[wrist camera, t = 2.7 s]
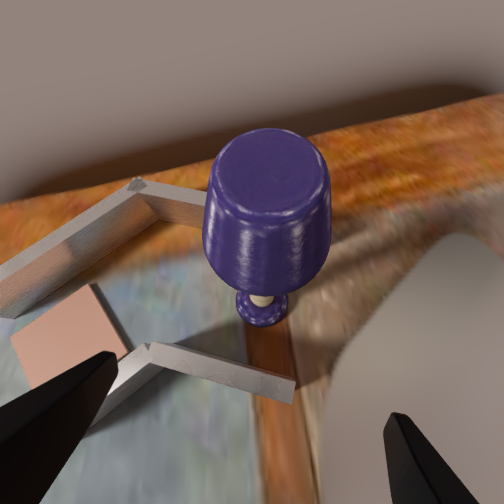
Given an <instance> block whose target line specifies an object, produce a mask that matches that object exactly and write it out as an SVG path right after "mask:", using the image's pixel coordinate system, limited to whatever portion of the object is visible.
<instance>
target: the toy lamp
mask: <svg viewBox="0 0 504 504" xmlns="http://www.w3.org/2000/svg"><path fill="white" fill-rule="evenodd" d="M331 219H332V208H331V183H330V175H329V171H328V168H327V165H326V162H325V160H324V158H323V156H322V154H321V153H320V151H319V150H318V149H317V148H316V147H315V146H314V145H313V144H312V143H311V142H309V141H308V140H307V139H306V138H304V137H302V136H300V135H299V134H296V133H293V132H291V131H288V130H283V129H278V128H262V129H256V130H252V131H249V132H246V133H244V134H241V135H239V136H237V137H235V138H234V139H233V140H232V141H230V142H229V143H228V144H227V145H226V146H224V148H223V149H222V150H221V151H220V153H219V154H218V155H217V157H216V159H215V161H214V163H213V165H212V169H211V172H210V177H209V182H208V188H207V196H206V202H205V211H204V218H203V228H202V240H203V247H204V251H205V255H206V257H207V259H208V261H209V263H210V265H211V267H212V268H213V270H214V271H215V273H216V274H217V275H218V276H219V277H220V278H221V279H222V280H223V281H224V282H226V283H227V284H228V285H229V286H231V287H233V288H234V289H236V290H238V291H237V294H236V307H237V311H238V313H239V315H240V316H241V317H242V319H243V320H244V321H246V322H247V323H249V324H250V325H252V326H256V327H269V326H272V325H274V324H276V323H277V322H279V321H280V320H281V319H282V318H283V316H284V315H285V313H286V311H287V307H288V295H287V293H290V292H293V291H295V290H297V289H299V288H301V287H302V286H304V285H305V284H307V283H308V282H309V281H310V280H312V279H313V278H314V277H315V276H316V274H317V273H318V272H319V271H320V269H321V267H322V266H323V264H324V262H325V260H326V258H327V255H328V252H329V248H330V243H331V229H332V227H331Z"/></svg>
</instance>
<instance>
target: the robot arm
mask: <svg viewBox="0 0 504 504" xmlns="http://www.w3.org/2000/svg"><path fill="white" fill-rule="evenodd" d="M118 372H119V368H118V362H117V356H116V354H115V353H114V352H110V351H101V352H99V353H97V354H96V355H94V356H92V357H90V358H88V359H86V360H85V361H83V362H81V363H79V364H77V365H76V366H74V367H72V368H70V369H68V370H67V371H65V372H63V373H61V374H59V375H57V376H56V377H54V378H52V379H50V380H48V381H47V382H45V383H43V384H41V385H39V386H38V387H36V388H34V389H32V390H30V391H28V392H27V393H25V394H23V395H21V396H19V397H18V398H16V399H14V400H12V401H10V402H9V403H7V404H5V405H3V406H1V407H0V504H39V503H40V502H41V500H42V499H43V497H44V496H45V494H46V492H47V491H48V489H49V488H50V486H51V485H52V483H53V482H54V480H55V479H56V477H57V476H58V474H59V473H60V471H61V470H62V468H63V467H64V465H65V464H66V462H67V461H68V459H69V457H70V456H71V454H72V453H73V451H74V450H75V448H76V447H77V445H78V444H79V442H80V441H81V439H82V438H83V436H84V435H85V433H86V432H87V430H88V428H89V427H90V425H91V424H92V422H93V420H94V419H95V417H96V415H97V413H98V411H99V409H100V408H101V406H102V404H103V402H104V400H105V398H106V396H107V395H108V393H109V391H110V389H111V387H112V385H113V383H114V381H115V380H116V378H117V375H118ZM383 437H384V445H385V453H386V461H387V468H388V476H389V484H390V491H391V497H392V502H393V504H479V503H478V502H477V500H476V499H475V498H474V497H473V495H472V494H471V493H470V492H469V490H468V489H467V488H466V487H465V486H464V484H463V483H462V482H461V480H460V479H459V478H458V477H457V476H456V474H455V473H454V472H453V471H452V469H451V468H450V467H449V466H448V465H447V463H446V462H445V461H444V460H443V458H442V457H441V456H440V455H439V453H438V452H437V451H436V450H435V448H434V447H433V446H432V445H431V443H430V442H429V441H428V440H427V438H426V437H425V436H424V435H423V434H422V432H421V431H420V430H419V429H418V427H417V426H416V425H415V424H414V422H413V421H412V420H411V419H410V418H409V417H408V416H407V415H405V414H401V413H396V412H393V413H391V415H390V417H389V419H388V421H387V423H386V425H385V428H384V431H383Z"/></svg>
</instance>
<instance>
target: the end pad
mask: <svg viewBox="0 0 504 504" xmlns="http://www.w3.org/2000/svg"><path fill="white" fill-rule="evenodd" d="M10 339H11V342H12V344H13V346H14V349H15V351H16V353H17V356H18V358H19V360H20V363H21V365H22V367H23V370H24V372H25V375H26V377H27V379H28V382H29V384H30V386H31V389H34V388H36V387H38V386H39V385H41V384H43V383H45V382H47V381H48V380H50V379H52V378H54V377H56V376H57V375H59V374H61V373H63V372H65V371H67V370H68V369H70V368H72V367H74V366H76V365H77V364H79V363H81V362H83V361H85V360H86V359H88V358H90V357H92V356H94V355H96V354H97V353H99V352H101V351H110V352H114V353H115V354H116V356H117V362H118V361H119V360H120V359H122V358H123V357H124V356H125V355H127V354H128V353H129V350H128V348H127V347H126V345H125V343H124V341H123V340H122V338H121V336H120V334H119V333H118V331H117V329H116V328H115V326H114V324H113V322H112V321H111V319H110V317H109V316H108V314H107V312H106V310H105V309H104V307H103V305H102V304H101V302H100V300H99V298H98V297H97V295H96V293H95V291H94V290H93V288H92V286H91V285H90V284H88V283H87V284H86V285H85V286H83V287H82V288H80V289H79V290H77V291H76V292H74V293H73V294H72V295H70V296H69V297H67V298H66V299H64V300H63V301H62V302H60V303H59V304H57V305H56V306H54V307H53V308H51V309H50V310H49V311H47V312H46V313H44V314H43V315H41V316H40V317H39V318H37V319H36V320H34V321H33V322H31V323H30V324H29V325H27V326H26V327H24V328H23V329H21V330H20V331H18V332H17V333H16V334H14V335H13V336H11V337H10Z"/></svg>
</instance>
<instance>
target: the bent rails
mask: <svg viewBox="0 0 504 504" xmlns="http://www.w3.org/2000/svg"><path fill="white" fill-rule="evenodd" d="M206 196H207V192H204V191H199V190H194V189H188V188H183V187H178V186H173V185H168V184H163V183H158V182H153V181H147V180H142V179H141V177H140V176H139V177H138V178H133V179H132V181H131V182H130V183H128V184H127V185H125V186H124V187H122V188H121V189H119V190H117V191H116V192H114V193H113V194H111V195H110V196H108V197H107V198H105V199H103V200H102V201H100V202H99V203H97V204H96V205H94V206H93V207H91V208H89V209H88V210H86V211H85V212H83V213H82V214H80V215H78V216H77V217H75V218H74V219H72V220H71V221H69V222H68V223H66V224H64V225H63V226H61V227H60V228H58V229H57V230H55V231H54V232H52V233H50V234H49V235H47V236H46V237H44V238H43V239H41V240H40V241H38V242H36V243H35V244H33V245H32V246H30V247H29V248H27V249H25V250H24V251H22V252H21V253H19V254H18V255H16V256H15V257H13V258H11V259H10V260H8V261H7V262H5V263H4V264H2V265H1V266H0V317H1V318H9V319H15V318H16V317H18V316H19V315H20V314H22V313H23V312H25V311H26V310H28V309H29V308H31V307H32V306H34V305H35V304H36V303H38V302H39V301H41V300H42V299H44V298H45V297H47V296H48V295H50V294H51V293H53V292H54V291H55V290H57V289H58V288H60V287H61V286H63V285H64V284H66V283H67V282H69V281H70V280H72V279H73V278H74V277H76V276H77V275H79V274H80V273H82V272H83V271H85V270H86V269H88V268H89V267H90V266H92V265H93V264H95V263H96V262H98V261H99V260H101V259H102V258H104V257H105V256H107V255H108V254H109V253H111V252H112V251H114V250H115V249H117V248H118V247H120V246H121V245H123V244H124V243H125V242H127V241H128V240H130V239H131V238H133V237H134V236H136V235H137V234H139V233H140V232H142V231H143V230H144V229H146V228H147V227H149V226H150V225H152V224H153V223H155V222H156V221H158V220H164V221H169V222H173V223H178V224H183V225H187V226H192V227H197V228H201V229H202V228H203V218H204V211H205V202H206ZM165 367H166V368H169V369H173V370H176V371H180V372H183V373H186V374H190V375H193V376H196V377H200V378H203V379H206V380H210V381H213V382H217V383H220V384H223V385H227V386H230V387H233V388H237V389H240V390H243V391H247V392H250V393H254V394H257V395H260V396H264V397H267V398H270V399H274V400H277V401H281V402H284V403H287V404H291V405H292V401H293V396H294V390H295V385H296V382H295V381H294V380H293V379H292V378H291V377H290V376H286V375H283V374H279V373H276V372H272V371H269V370H265V369H262V368H258V367H255V366H251V365H248V364H244V363H240V362H237V361H233V360H230V359H226V358H223V357H219V356H216V355H212V354H209V353H205V352H202V351H198V350H195V349H191V348H187V347H184V346H180V345H177V344H171V343H163V342H155V341H152V342H151V344H147V343H143V344H142V345H140V346H139V347H138V348H136V349H135V350H134V351H133V352H131V353H130V354H129V355H127V356H126V357H125V358H124V359H122V360H121V361H120V362H118V368H119V372H118V375H117V378H116V380H115V381H114V383H113V385H112V387H111V389H110V391H109V393H108V395H107V396H106V398H105V400H104V402H103V404H102V406H101V408H100V409H99V411H98V413H97V415H96V417H95V419H94V420H93V422H92V424H91V425H90V427H89V428H88V429H90V428H91V427H92V426H93V425H94V424H96V423H97V422H98V421H99V420H101V419H102V418H103V417H104V416H106V415H107V414H108V413H109V412H111V411H112V410H113V409H114V408H116V407H117V406H118V405H119V404H120V403H122V402H123V401H124V400H125V399H127V398H128V397H129V396H130V395H132V394H133V393H134V392H135V391H137V390H138V389H139V388H140V387H142V386H143V385H144V384H145V383H147V382H148V381H149V380H150V379H151V378H153V377H154V376H155V375H156V374H158V373H159V372H160V371H161V370H163V369H164V368H165Z"/></svg>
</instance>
